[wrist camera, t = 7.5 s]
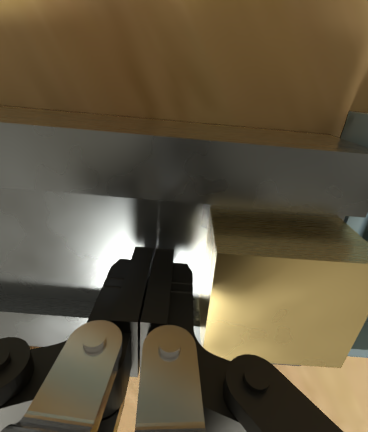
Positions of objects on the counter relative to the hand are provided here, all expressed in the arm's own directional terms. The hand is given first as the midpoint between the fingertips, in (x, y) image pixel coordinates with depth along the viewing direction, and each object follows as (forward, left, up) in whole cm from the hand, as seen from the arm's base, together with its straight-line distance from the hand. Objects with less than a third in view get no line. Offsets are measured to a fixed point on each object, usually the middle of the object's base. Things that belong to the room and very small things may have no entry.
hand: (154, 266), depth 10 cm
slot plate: (+1, 0, -4) cm, 4 cm away
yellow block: (-5, 0, -1) cm, 5 cm away
